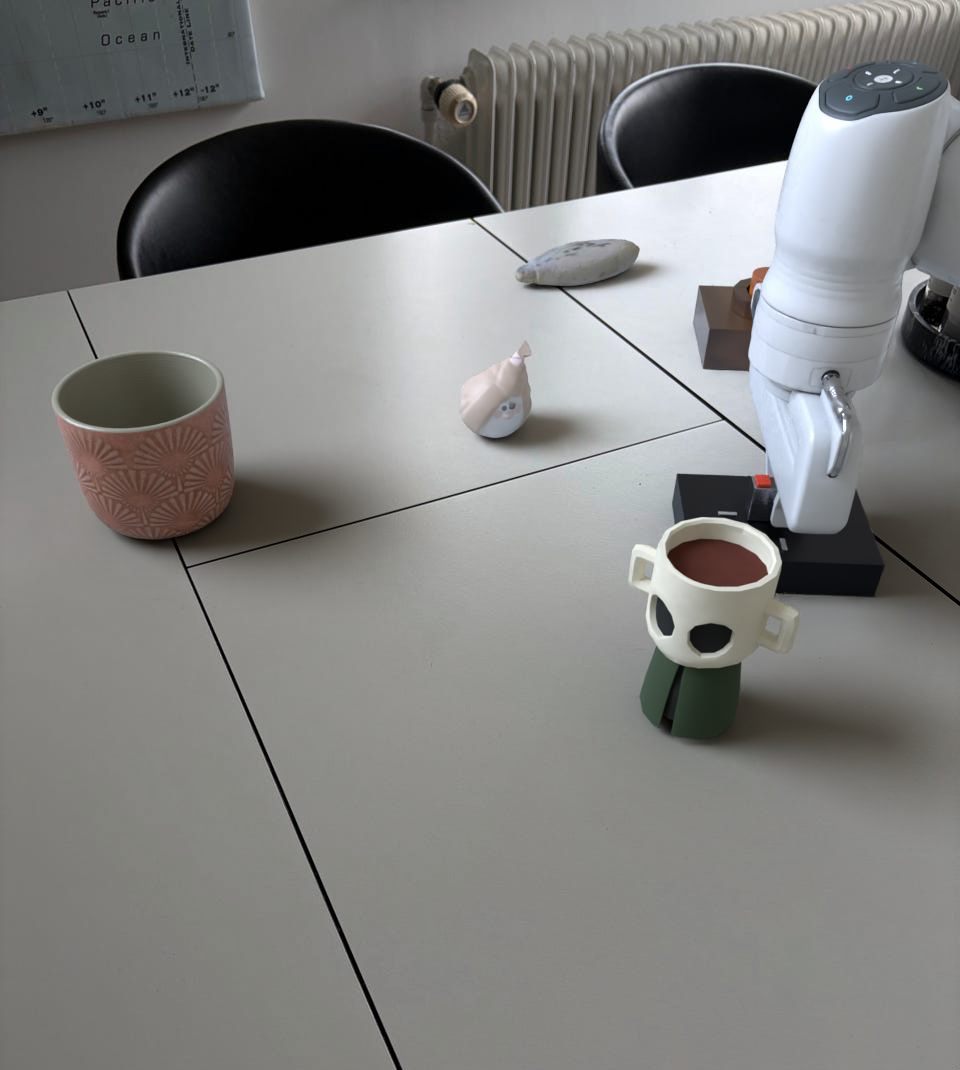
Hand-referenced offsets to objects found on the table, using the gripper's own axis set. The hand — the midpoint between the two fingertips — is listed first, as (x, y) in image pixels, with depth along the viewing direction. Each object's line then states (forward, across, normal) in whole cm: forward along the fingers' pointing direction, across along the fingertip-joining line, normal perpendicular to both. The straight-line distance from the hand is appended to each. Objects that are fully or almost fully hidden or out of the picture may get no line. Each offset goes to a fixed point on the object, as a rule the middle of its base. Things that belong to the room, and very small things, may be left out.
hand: (777, 510), depth 79 cm
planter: (+4, +2, +48) cm, 48 cm away
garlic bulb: (+4, +16, +22) cm, 27 cm away
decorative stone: (+4, +50, +14) cm, 52 cm away
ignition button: (-2, +34, -4) cm, 34 cm away
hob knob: (+1, 0, 0) cm, 1 cm away
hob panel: (+4, 0, 0) cm, 4 cm away
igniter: (+4, +34, -4) cm, 34 cm away
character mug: (+4, -18, +8) cm, 20 cm away
